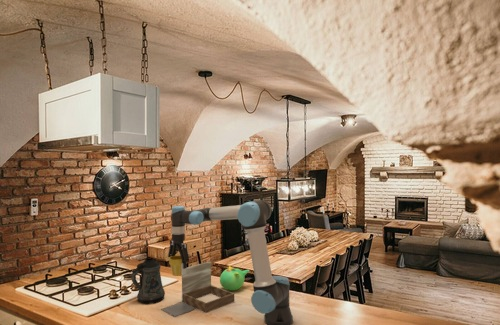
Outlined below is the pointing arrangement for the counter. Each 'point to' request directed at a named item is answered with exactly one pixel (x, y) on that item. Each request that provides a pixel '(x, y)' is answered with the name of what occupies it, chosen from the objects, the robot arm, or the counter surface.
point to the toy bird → (232, 278)
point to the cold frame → (202, 289)
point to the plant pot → (176, 265)
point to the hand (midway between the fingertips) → (178, 272)
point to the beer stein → (149, 282)
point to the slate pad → (178, 309)
